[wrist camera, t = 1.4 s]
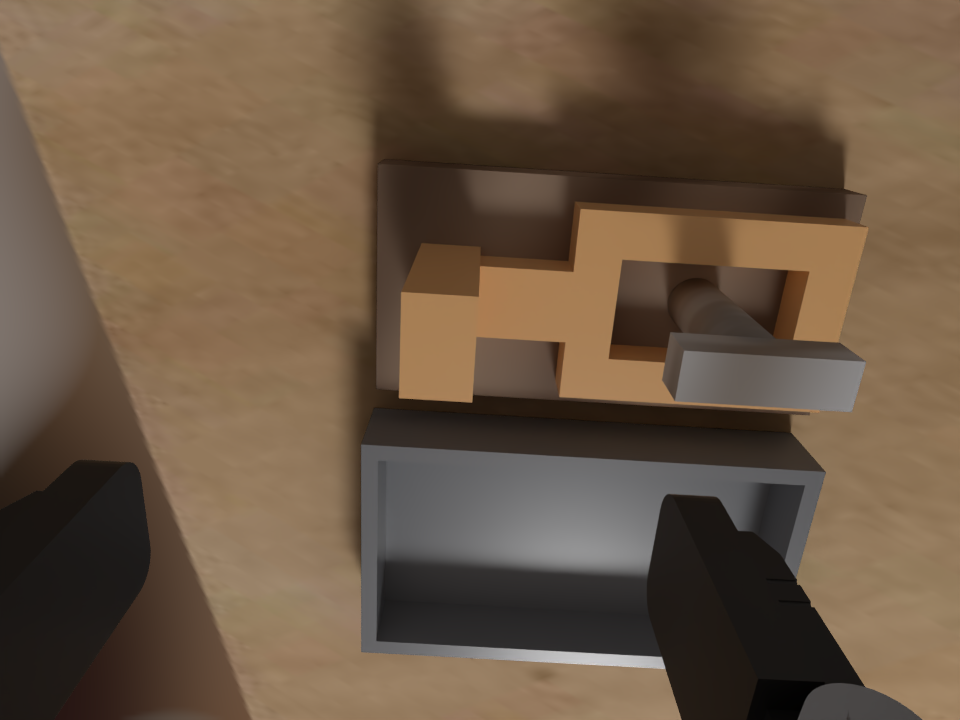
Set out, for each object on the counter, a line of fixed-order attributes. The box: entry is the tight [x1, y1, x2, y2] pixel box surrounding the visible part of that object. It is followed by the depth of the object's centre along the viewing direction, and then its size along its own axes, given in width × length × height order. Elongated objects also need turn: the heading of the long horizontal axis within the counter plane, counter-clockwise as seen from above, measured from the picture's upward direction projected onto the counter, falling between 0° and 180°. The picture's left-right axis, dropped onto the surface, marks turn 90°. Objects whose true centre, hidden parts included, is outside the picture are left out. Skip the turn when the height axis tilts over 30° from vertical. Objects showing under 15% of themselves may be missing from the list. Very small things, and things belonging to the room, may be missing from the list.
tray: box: [361, 408, 826, 669], centre depth 28 cm, size 17×10×3 cm, turn 86°
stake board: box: [376, 159, 867, 415], centre depth 21 cm, size 16×8×8 cm, turn 86°
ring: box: [399, 202, 869, 413], centre depth 21 cm, size 14×6×6 cm, turn 86°
